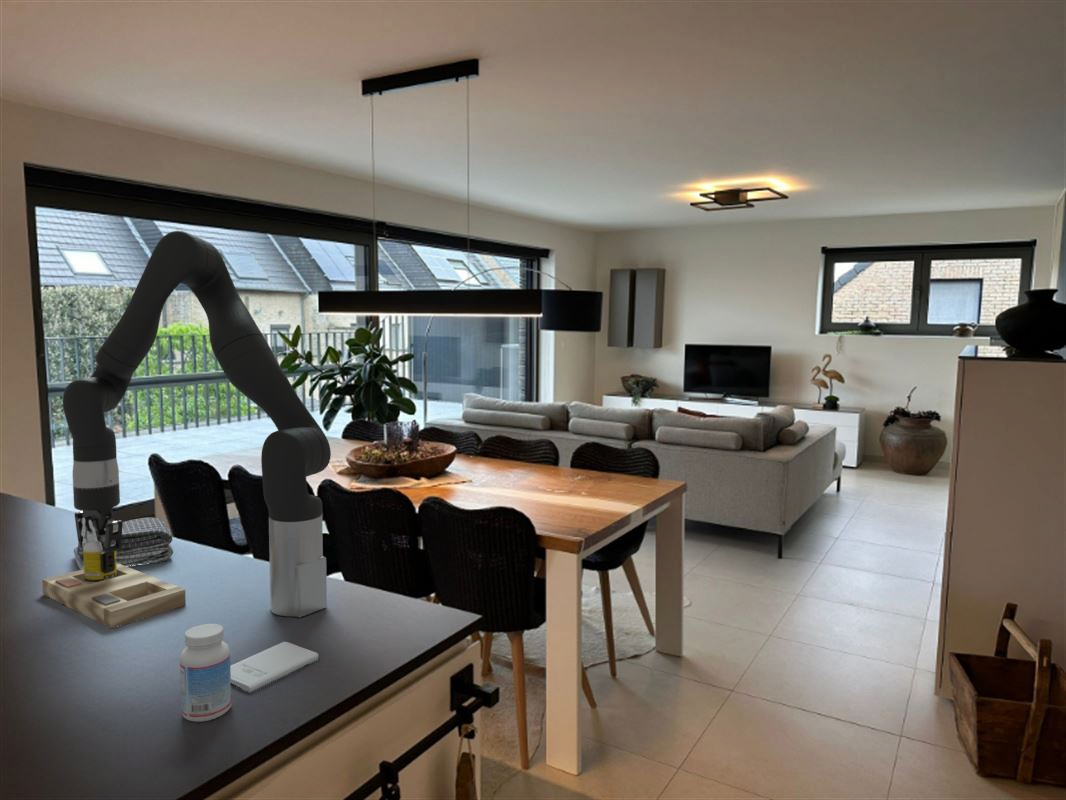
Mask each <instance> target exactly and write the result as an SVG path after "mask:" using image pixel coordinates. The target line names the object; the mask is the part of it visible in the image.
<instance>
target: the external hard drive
mask: <svg viewBox="0 0 1066 800" xmlns="http://www.w3.org/2000/svg"><path fill="white" fill-rule="evenodd" d="M318 657H319V653H318V652H316V651H314V650H310V649H307V648H305V647H302V646H299V645H296V644H294V643H291V642H288V641H282V642H280V643H277V644H275V645H273V646H271V647H269V648H266V649H264V650H262V651H260V652H258V653H256V654H254V655H251V656H249V657H247V658H244V659H243V660H239V661H238V662H236V663H234V664H230V671H231V683H232V684H234V685H233V686H235V685H237V686H240V687H242V688H244V689H247V690H253V689H255V688H257V687H259V686H261V685H263V684H265V683H267V682H269V681H271V680H273V679H275V678H277V677H279V676H281V675H283V674H286V673H288V672H290V671H291V670H294V669H295V668H297V667H299V666H301V665H303V664H305V663H307V662H310V661H312V660H314V659H316V658H318ZM232 684H231V685H232Z"/></svg>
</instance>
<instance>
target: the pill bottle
mask: <svg viewBox="0 0 1066 800" xmlns="http://www.w3.org/2000/svg"><path fill="white" fill-rule="evenodd" d="M224 637H225V635H224V627H223V625H220V624H217V623H205V624H199V625H196V626H193V627H190V628H188V630H186V631H185V633H184V644H185V646H186V647H185V648H184V649H183V650H182V651H181V653H180V656H179V668H180V669H179V675H180V696H181V697H180V698H181V700H180V702H181V714H182V716H183V718H184V719H185V720H188V721H190V722H196V723H198V722H199V723H200V722H208V721H212V719H213V720H215V719H217V717H218V718H219V717H221V716H222V715H225V714H226V713H227V712H228V711H229V710H230V708H231V707H232V703H233V701H232V684H231V671H230V666H231V650H230V646H229V644H227V643H226V642H225V641H224Z"/></svg>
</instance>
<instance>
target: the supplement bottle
mask: <svg viewBox="0 0 1066 800" xmlns="http://www.w3.org/2000/svg"><path fill="white" fill-rule="evenodd" d="M100 537H105V535H101V536H100ZM87 540H88V541H89V542H88V543H86V544H85V545H84V547H83V556H84V581H85V582H86V583H88V584H92V583H96V582H99V581H103V580H107V579H111V578H115V577H117V564H116V551H115V552H114V559H115V570H114V571H112V572H108V573H103V572H101V560H100V554H101V553H100V549H99V545H98V543H96V542H95V541H94V536H93V533H92V532H88V533H87ZM115 544H116V543H115ZM104 546H105V541H104Z"/></svg>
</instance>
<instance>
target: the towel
mask: <svg viewBox="0 0 1066 800" xmlns="http://www.w3.org/2000/svg"><path fill="white" fill-rule="evenodd" d="M122 523H123V525H122V541H121V549H120V550H117V551H116V563H119V564H121V565H124V566H130V565H131V566H132V565H138V564H147V563H153V564H156V563H155V562H159V563H161V561H162V562H165V561H167V560H169V559H170V558H171V557H172V556H173V555H174V548H173V546H172V544H171V543H172V542H173V534H172V531H171V530H170V529H169V528H168V526H167V524H166V522H165V521H164V520H162V519H160V518H157V517H142V518H140V517H139V518H136V519H130V520H126V521H122ZM77 542H78V541H77ZM115 543H116V540H115ZM73 553H74V557H75V558H74V559H75V561H76V564H77V566H78V568H79V570H83V569H84V556H83V545H82V543H79V542H78V543H77V547H74V548H73ZM147 565H148V564H147Z"/></svg>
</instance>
